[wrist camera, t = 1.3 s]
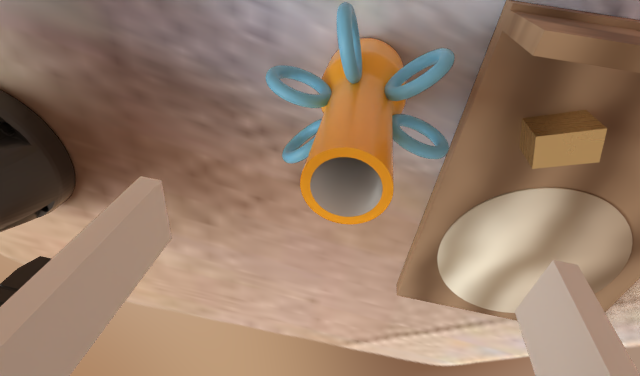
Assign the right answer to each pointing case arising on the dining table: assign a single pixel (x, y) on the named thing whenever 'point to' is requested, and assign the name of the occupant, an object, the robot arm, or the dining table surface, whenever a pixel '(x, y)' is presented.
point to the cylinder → (358, 122)
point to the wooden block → (562, 139)
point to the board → (536, 184)
